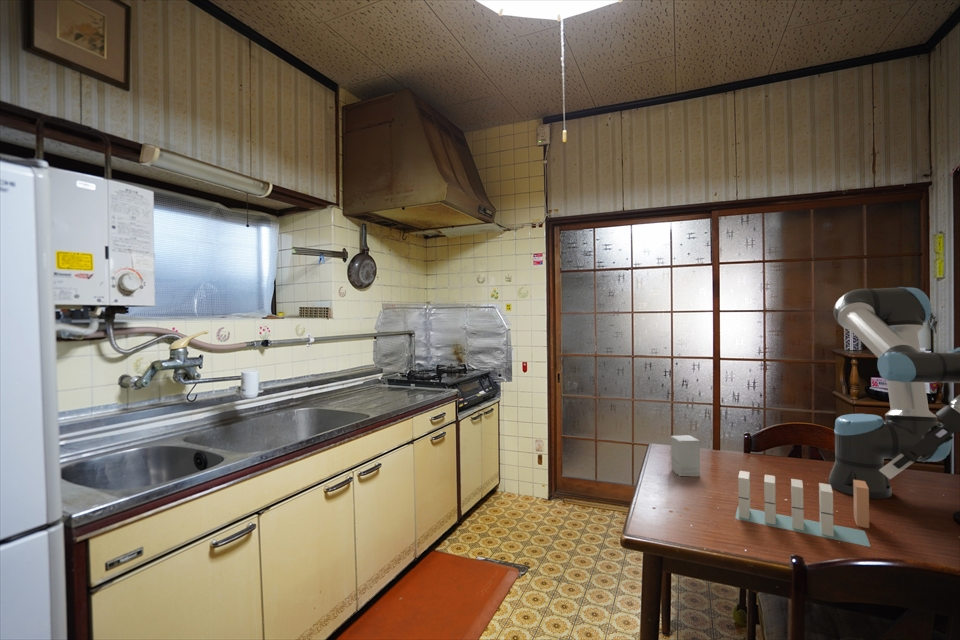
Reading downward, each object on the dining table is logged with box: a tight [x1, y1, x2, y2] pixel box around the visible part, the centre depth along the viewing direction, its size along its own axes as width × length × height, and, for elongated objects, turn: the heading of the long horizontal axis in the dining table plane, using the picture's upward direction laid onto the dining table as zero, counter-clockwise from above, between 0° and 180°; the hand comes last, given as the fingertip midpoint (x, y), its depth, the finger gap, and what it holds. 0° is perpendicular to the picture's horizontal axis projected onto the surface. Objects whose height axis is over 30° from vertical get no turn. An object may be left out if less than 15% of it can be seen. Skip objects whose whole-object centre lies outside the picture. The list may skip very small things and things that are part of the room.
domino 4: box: [818, 482, 834, 537], centre depth 113 cm, size 2×6×11 cm, turn 146°
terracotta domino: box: [853, 480, 870, 529], centre depth 117 cm, size 2×6×11 cm, turn 146°
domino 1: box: [737, 470, 751, 519], centre depth 123 cm, size 2×6×11 cm, turn 146°
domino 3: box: [790, 478, 805, 530], centre depth 116 cm, size 2×6×11 cm, turn 146°
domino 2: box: [763, 474, 777, 525], centre depth 120 cm, size 2×6×11 cm, turn 146°
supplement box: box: [670, 434, 701, 477], centre depth 157 cm, size 7×7×13 cm
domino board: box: [734, 505, 872, 548], centre depth 116 cm, size 28×9×1 cm, turn 56°
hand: (889, 471), depth 114 cm, fingers open, 13 cm apart
